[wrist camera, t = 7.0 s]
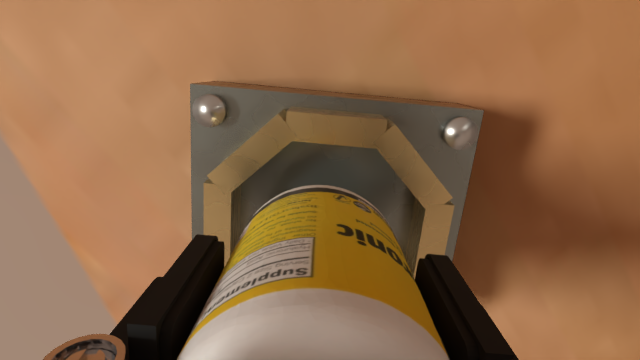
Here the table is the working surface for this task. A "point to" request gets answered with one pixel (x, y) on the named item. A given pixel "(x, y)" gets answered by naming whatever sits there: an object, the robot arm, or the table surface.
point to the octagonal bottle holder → (331, 158)
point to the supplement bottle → (315, 288)
